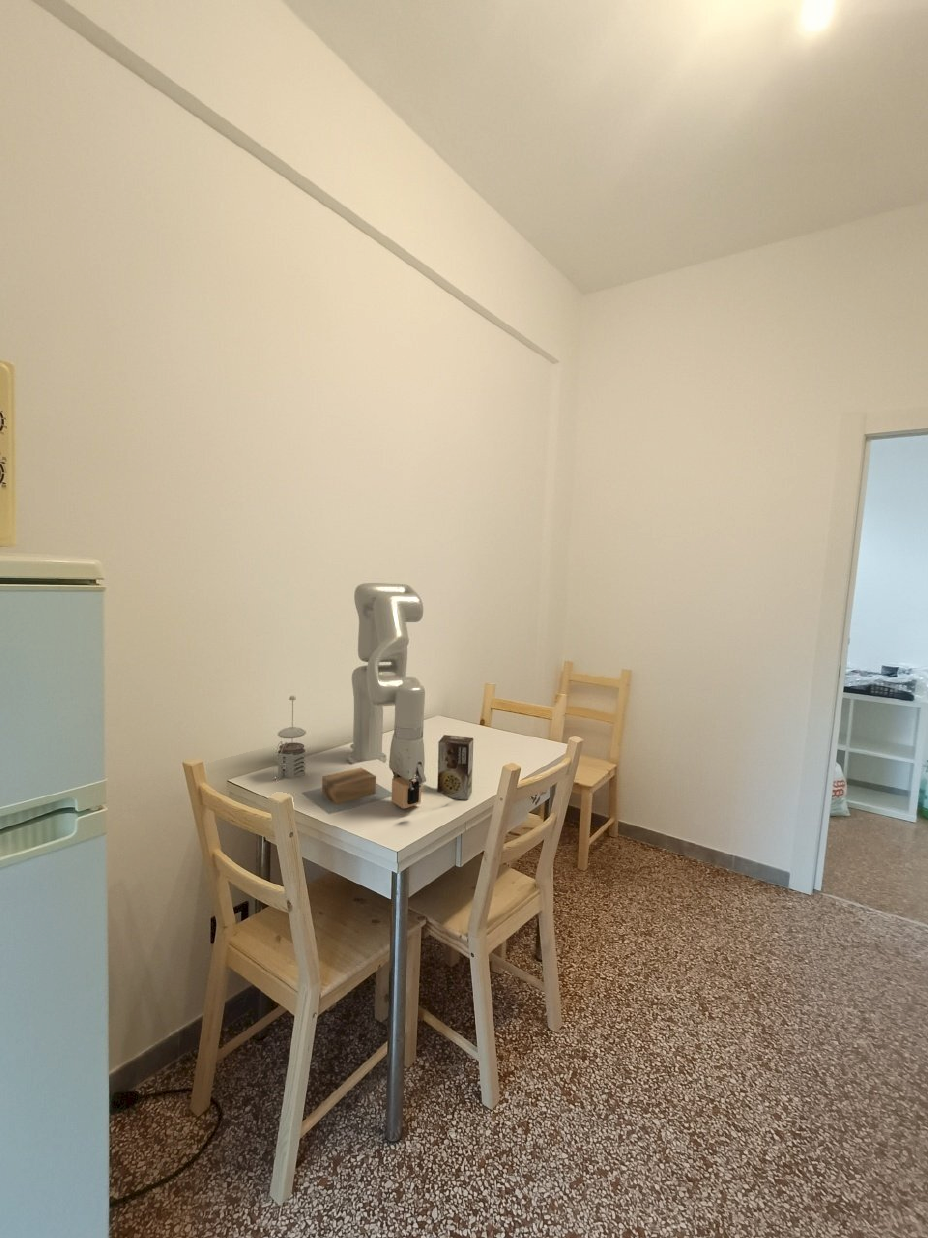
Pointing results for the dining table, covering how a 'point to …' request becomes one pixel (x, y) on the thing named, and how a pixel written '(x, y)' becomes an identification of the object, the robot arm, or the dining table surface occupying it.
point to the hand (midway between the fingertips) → (406, 798)
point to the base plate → (332, 807)
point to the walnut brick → (348, 785)
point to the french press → (291, 752)
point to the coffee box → (455, 766)
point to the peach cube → (402, 792)
